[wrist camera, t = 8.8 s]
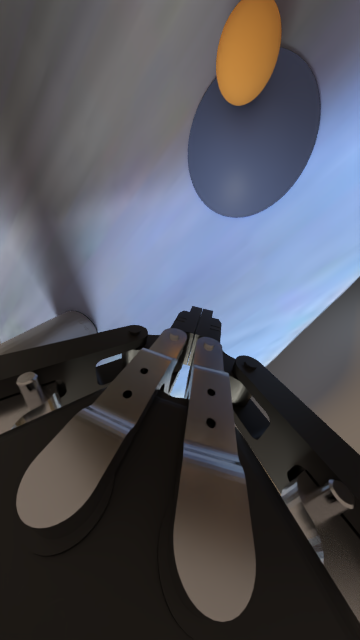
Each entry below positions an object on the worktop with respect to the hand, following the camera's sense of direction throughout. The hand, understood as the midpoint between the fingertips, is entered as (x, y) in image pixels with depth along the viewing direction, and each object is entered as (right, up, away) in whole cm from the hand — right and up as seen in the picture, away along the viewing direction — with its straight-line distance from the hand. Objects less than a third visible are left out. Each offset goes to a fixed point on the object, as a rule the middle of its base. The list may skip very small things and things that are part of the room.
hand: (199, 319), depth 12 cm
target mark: (+6, +19, +6) cm, 21 cm away
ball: (+4, +22, +2) cm, 22 cm away
